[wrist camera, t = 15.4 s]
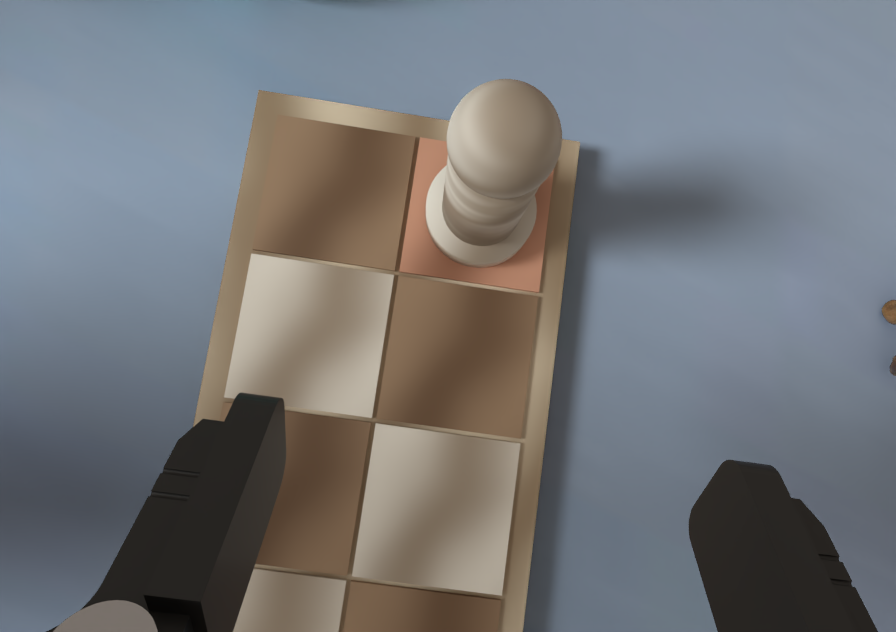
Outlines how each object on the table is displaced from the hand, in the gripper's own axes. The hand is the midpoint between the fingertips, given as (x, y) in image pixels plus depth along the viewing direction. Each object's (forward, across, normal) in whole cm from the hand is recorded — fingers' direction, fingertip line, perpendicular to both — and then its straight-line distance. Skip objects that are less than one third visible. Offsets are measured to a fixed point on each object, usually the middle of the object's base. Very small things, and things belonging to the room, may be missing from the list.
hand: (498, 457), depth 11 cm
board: (+11, +3, +12) cm, 16 cm away
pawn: (+17, 0, +4) cm, 17 cm away
